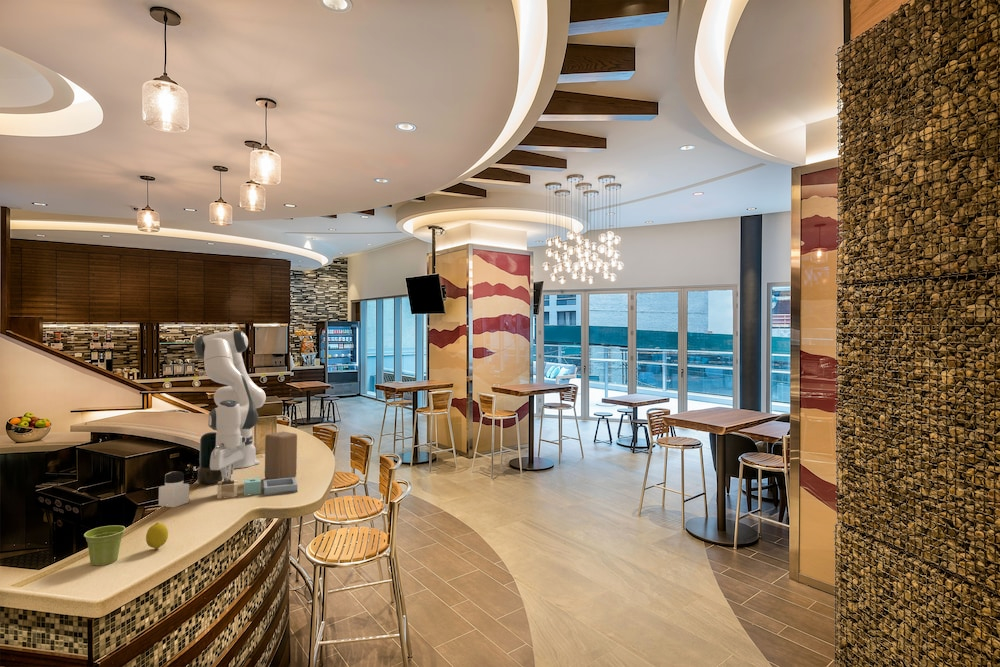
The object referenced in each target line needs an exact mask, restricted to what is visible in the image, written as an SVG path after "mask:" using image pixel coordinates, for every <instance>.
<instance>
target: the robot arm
mask: <svg viewBox="0 0 1000 667" xmlns="http://www.w3.org/2000/svg"><path fill="white" fill-rule="evenodd" d="M248 346H249V339H248V336H247V335H246V333H245V332H244V331H242V330H237V329H235V330H232V331H231V330H230V331H220V332H217V333H213V334H208V335H201V336H198V337H197V338H196V339H195V340H194V344H193V350H194V353H195V354H196V356H197V357H198V358H199V359H203V365H204V371H205V375H206V377H207V378H208V379H210V380H211V381H213V382H215V383H218V384H221V385H224V386H221V387H219V388H217V389H216V391H214V395H213V401H214V403H215V405H216V406H217V407H215V408H213V409H212V410H211V411H210V412H209V413H208V427H209V428H210V429H212V430H214V431H216V446H215V448H214V450H213V451H212V453H211V458H210V469H211V470H220V471H221V473H222V478H223V479H224V478H226V477H228V472H227V470H226V469H227V466H229V465H231V476H232V475H233V474H234V469H242V468H249V467H253V466H254V465H259V464H260V463H261V461H260V460H258V459H257V457H256V456H257V452H256V449H257V448H256V446H254V445H253V444H254V443H253V440H254V438H253V435H252V434H253V432H252V431H253V428H254V426H256V425H257V423H258V422H259V414H258V410H257V409H260V408H262V407H263V406H264V404H265V402H266V401H267V400H266V399H267V396H266V393H265V392H266V391H264V390H263V389H262V388H261V387H259V386H258V385H257V384H256V383H254V381H253V380H252V379H251V377H250V375H249V374H248V372H247V369H246V366H245V363H244V358H243V356H242V353H243V352H245V351H246V350H247V349H248Z"/></svg>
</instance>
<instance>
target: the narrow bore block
mask: <svg viewBox="0 0 1000 667" xmlns="http://www.w3.org/2000/svg"><path fill="white" fill-rule="evenodd" d="M243 480H244V482H243V483H244V484H243V486H244V488H243V494H244V495H245V496H249V495H248V494H254V495H261V494H262V492H261V490H262V480H261V477H254V478H246V479H243ZM244 495H243V496H244Z"/></svg>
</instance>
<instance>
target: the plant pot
mask: <svg viewBox="0 0 1000 667" xmlns="http://www.w3.org/2000/svg"><path fill="white" fill-rule="evenodd" d="M126 529H127V528H126V527H125V526H124V525H114V524H113V525H105V526H99V527H95V528H93V529H90V530H87V531H86V532H85V533H84V534H83V537H84V538H85V540H86V542H87V548H88V557H89V562H90V565H91V566H106V565H110V564H113V563H114V562H115V561H117V560H118V558H119V552H120V547H121V543H122V537H123V535H124V532H125V531H126Z"/></svg>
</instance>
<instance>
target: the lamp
mask: <svg viewBox="0 0 1000 667" xmlns="http://www.w3.org/2000/svg"><path fill="white" fill-rule="evenodd" d="M216 433H217V431H209V432H205V433H204V434H202V435H201V437H200V439H199V440H200V441H199V466H198V469H197V483H198V484H199V485H201V486H214V485H218V482H219V481H224V478H222V473H221V471H220V470H211V469H210V458H211V453H212V451H213V450H214V448H215V446H216Z"/></svg>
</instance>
